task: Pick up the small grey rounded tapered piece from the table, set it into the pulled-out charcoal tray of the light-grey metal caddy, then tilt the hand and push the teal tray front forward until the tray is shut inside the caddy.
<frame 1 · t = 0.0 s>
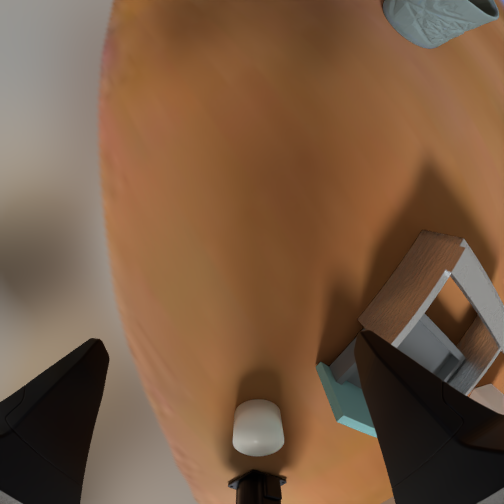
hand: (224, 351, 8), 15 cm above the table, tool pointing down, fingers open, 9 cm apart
grey rounded tapered piece: (257, 414, 27), on the table
dock: (433, 316, 25), on the table
milk: (474, 399, 29), on the table
drinking glass: (413, 24, 19), on the table
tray: (415, 380, 22), point 4 cm above the table, slide at 5.5 cm
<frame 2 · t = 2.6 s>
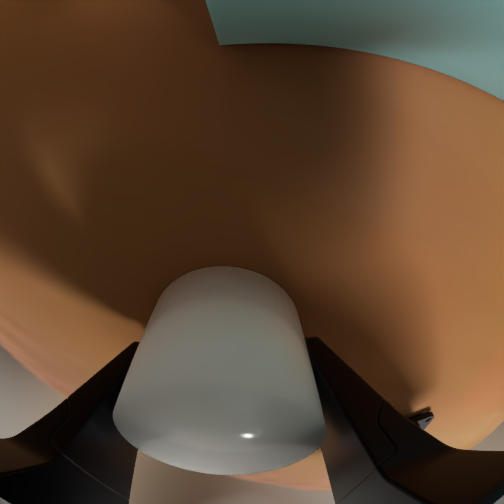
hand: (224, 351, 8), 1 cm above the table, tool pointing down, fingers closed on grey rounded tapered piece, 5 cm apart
grey rounded tapered piece: (225, 331, 9), on the table, touching gripper
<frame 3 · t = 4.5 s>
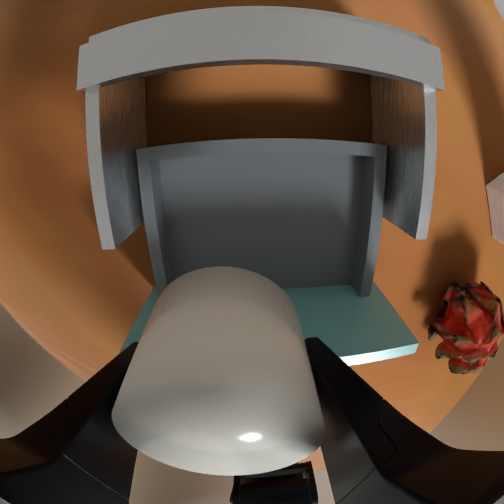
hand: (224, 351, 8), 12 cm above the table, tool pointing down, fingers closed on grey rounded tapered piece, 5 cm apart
grey rounded tapered piece: (224, 331, 9), point 11 cm above the table, touching gripper
dock: (261, 125, 16), on the table
milk: (502, 199, 18), on the table
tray: (268, 243, 15), point 4 cm above the table, slide at 5.5 cm
dragon fruit: (449, 306, 23), on the table
when the fingers open (4 cm above the table, at t = 6.5 s): grey rounded tapered piece drops 2 cm, resting on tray.
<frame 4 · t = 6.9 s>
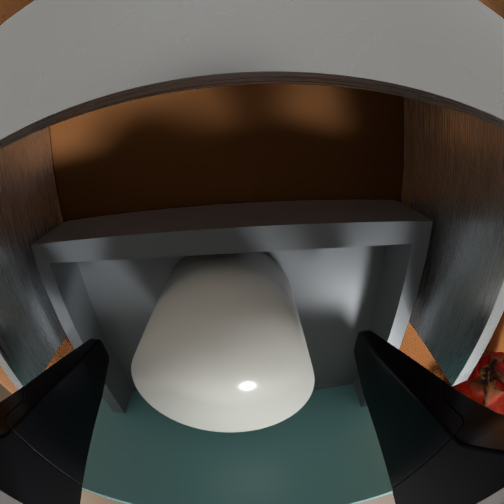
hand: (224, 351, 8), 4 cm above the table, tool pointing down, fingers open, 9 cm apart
grey rounded tapered piece: (228, 302, 11), point 1 cm above the table, touching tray
dock: (219, 180, 10), on the table
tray: (229, 390, 9), point 4 cm above the table, slide at 5.5 cm, touching grey rounded tapered piece
dragon fruit: (466, 368, 17), on the table
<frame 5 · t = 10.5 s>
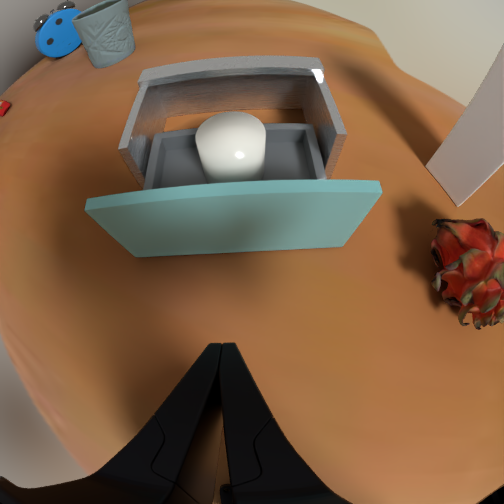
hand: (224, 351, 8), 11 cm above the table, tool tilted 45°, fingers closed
grey rounded tapered piece: (234, 169, 23), point 1 cm above the table, touching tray
dock: (234, 140, 26), on the table
milk: (451, 178, 25), on the table
drinking glass: (115, 56, 35), on the table
alarm clock: (69, 52, 40), on the table
candy bar: (1, 111, 35), on the table
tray: (231, 162, 19), point 4 cm above the table, slide at 5.5 cm, touching grey rounded tapered piece
dragon fruit: (452, 282, 21), on the table
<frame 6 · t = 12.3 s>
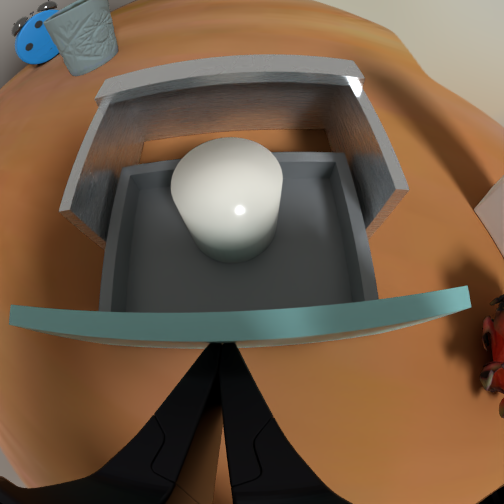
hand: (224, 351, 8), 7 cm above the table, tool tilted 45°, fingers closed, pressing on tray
grey rounded tapered piece: (233, 221, 16), point 1 cm above the table, touching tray
dock: (233, 177, 19), on the table
milk: (498, 222, 18), on the table
drinking glass: (96, 61, 29), on the table
alarm clock: (52, 57, 35), on the table
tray: (228, 223, 13), point 4 cm above the table, slide at 5.0 cm, touching gripper, grey rounded tapered piece
dragon fruit: (495, 359, 14), on the table
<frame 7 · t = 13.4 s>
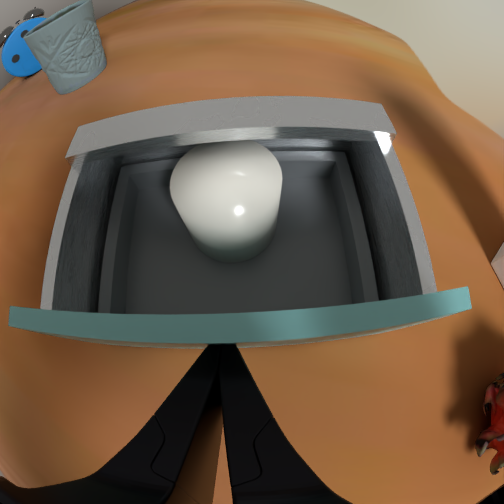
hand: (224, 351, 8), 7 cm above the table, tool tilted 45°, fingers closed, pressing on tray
grey rounded tapered piece: (232, 221, 16), point 1 cm above the table, touching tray
dock: (234, 242, 17), on the table
drinking glass: (83, 76, 27), on the table
alarm clock: (40, 68, 33), on the table
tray: (228, 223, 13), point 4 cm above the table, slide at -0.1 cm, touching dock, gripper, grey rounded tapered piece
dragon fruit: (493, 415, 12), on the table
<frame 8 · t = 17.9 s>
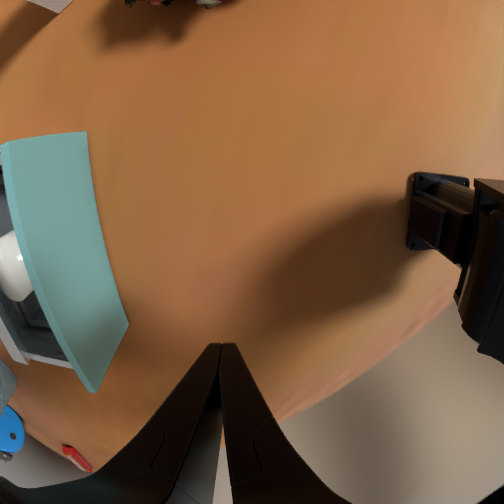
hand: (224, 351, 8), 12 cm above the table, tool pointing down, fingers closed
grey rounded tapered piece: (36, 248, 18), point 1 cm above the table, touching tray
dock: (49, 243, 19), on the table
drinking glass: (0, 366, 29), on the table
alarm clock: (11, 409, 36), on the table
candy bar: (79, 454, 43), on the table
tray: (27, 264, 15), point 4 cm above the table, slide at 0.0 cm, touching grey rounded tapered piece
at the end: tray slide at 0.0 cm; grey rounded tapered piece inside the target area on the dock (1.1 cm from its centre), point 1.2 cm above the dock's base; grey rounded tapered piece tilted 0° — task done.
